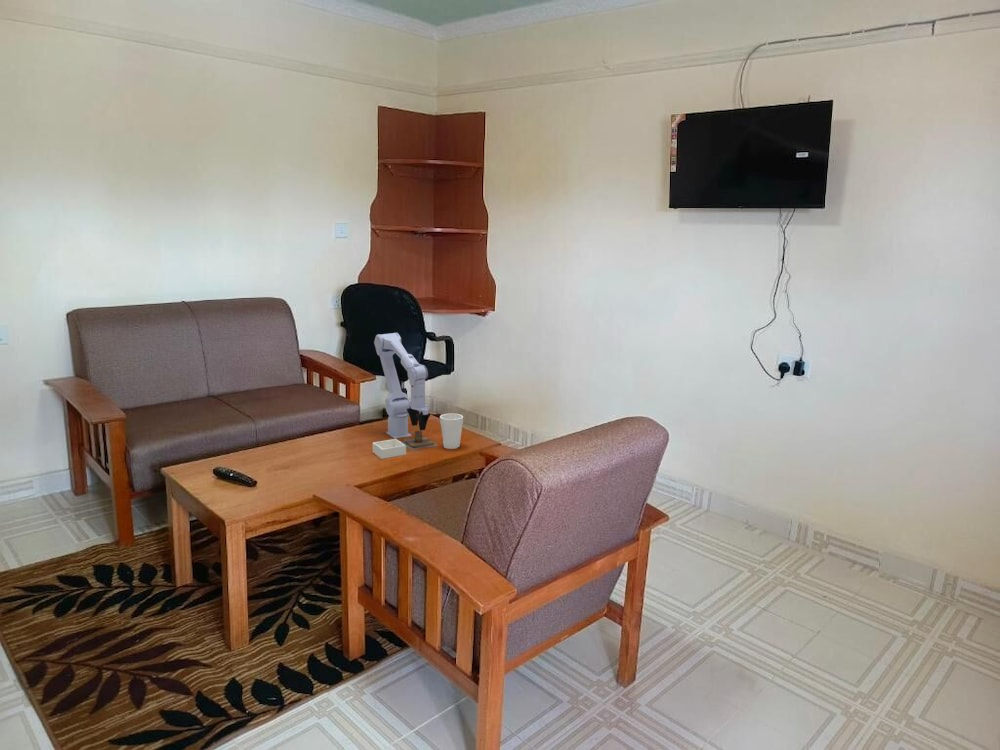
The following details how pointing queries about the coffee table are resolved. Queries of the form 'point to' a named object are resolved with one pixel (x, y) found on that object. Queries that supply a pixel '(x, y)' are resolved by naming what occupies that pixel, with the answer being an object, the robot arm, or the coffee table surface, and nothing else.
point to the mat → (419, 447)
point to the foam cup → (451, 430)
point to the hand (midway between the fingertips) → (418, 427)
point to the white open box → (389, 448)
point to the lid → (418, 441)
